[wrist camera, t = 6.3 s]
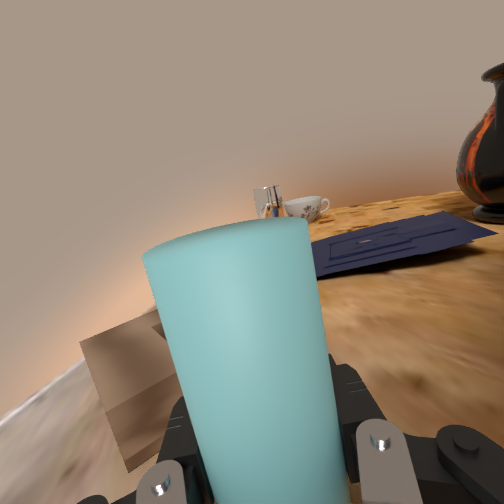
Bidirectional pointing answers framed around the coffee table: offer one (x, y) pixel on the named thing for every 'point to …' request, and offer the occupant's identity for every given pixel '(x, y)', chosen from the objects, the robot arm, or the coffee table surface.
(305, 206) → the teacup
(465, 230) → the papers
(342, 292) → the coffee table surface
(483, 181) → the amphora vase
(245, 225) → the teal pin
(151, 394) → the walnut block
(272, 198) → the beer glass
